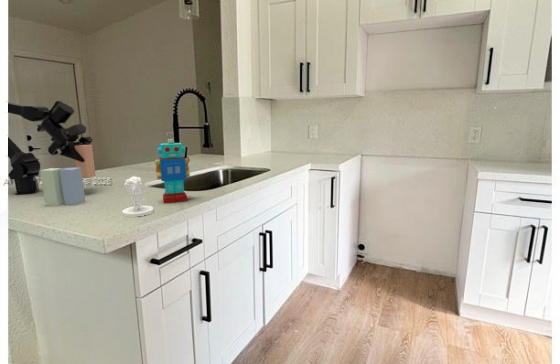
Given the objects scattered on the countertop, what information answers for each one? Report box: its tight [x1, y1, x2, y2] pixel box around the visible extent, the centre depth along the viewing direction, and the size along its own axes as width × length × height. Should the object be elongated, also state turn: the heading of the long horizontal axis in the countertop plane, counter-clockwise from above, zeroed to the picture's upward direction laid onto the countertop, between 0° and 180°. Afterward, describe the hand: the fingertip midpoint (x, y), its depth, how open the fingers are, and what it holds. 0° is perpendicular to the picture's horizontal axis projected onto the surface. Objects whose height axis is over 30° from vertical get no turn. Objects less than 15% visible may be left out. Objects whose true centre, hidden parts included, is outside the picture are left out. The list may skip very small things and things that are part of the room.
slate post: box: [60, 167, 86, 206], centre depth 115 cm, size 4×4×12 cm
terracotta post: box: [74, 144, 97, 179], centre depth 127 cm, size 4×4×12 cm
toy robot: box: [154, 131, 191, 204], centre depth 117 cm, size 12×6×25 cm, turn 114°
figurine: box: [122, 176, 154, 218], centre depth 104 cm, size 9×9×12 cm
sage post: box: [39, 167, 65, 207], centre depth 114 cm, size 4×4×12 cm
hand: (87, 160), depth 127 cm, fingers closed on terracotta post, 4 cm apart
